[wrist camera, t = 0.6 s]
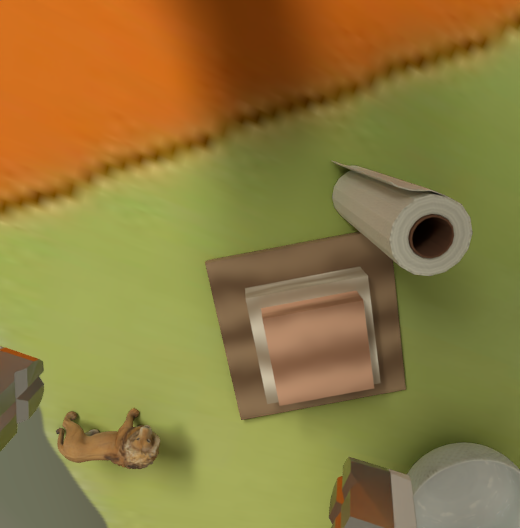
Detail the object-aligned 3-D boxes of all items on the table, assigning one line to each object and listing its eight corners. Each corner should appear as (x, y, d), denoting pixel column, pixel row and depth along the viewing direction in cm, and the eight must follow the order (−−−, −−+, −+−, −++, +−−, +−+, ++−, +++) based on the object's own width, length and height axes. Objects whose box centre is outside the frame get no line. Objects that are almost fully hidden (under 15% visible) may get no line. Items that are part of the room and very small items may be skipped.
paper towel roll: (382, 217, 54) (472, 273, 33) (332, 222, 54) (390, 281, 33) (383, 155, 52) (478, 174, 31) (330, 160, 51) (390, 181, 31)
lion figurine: (163, 394, 59) (150, 439, 51) (171, 428, 61) (160, 478, 52) (52, 412, 59) (20, 461, 51) (64, 446, 61) (35, 499, 52)
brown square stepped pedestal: (205, 260, 54) (200, 280, 47) (386, 226, 54) (409, 241, 47) (241, 415, 61) (241, 453, 53) (403, 385, 60) (425, 419, 53)
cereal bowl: (487, 406, 62) (517, 440, 55) (517, 494, 67) (549, 535, 60) (372, 453, 63) (388, 492, 57) (410, 535, 68) (429, 580, 61)
